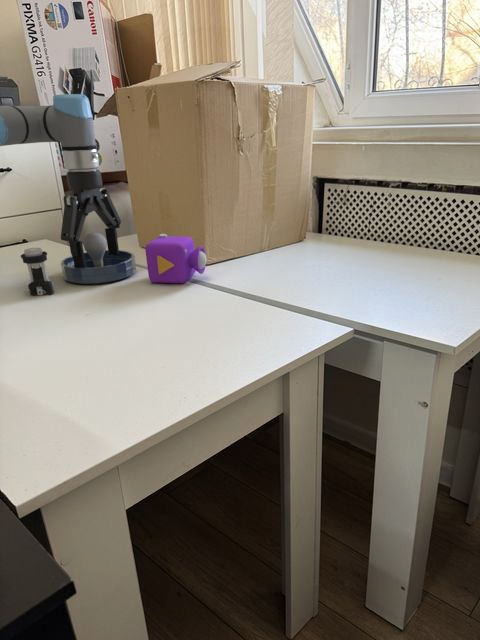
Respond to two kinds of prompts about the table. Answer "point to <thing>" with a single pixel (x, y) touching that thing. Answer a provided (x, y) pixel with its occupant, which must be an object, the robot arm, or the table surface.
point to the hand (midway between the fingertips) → (98, 261)
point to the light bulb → (95, 247)
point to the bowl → (100, 268)
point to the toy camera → (174, 259)
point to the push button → (37, 272)
